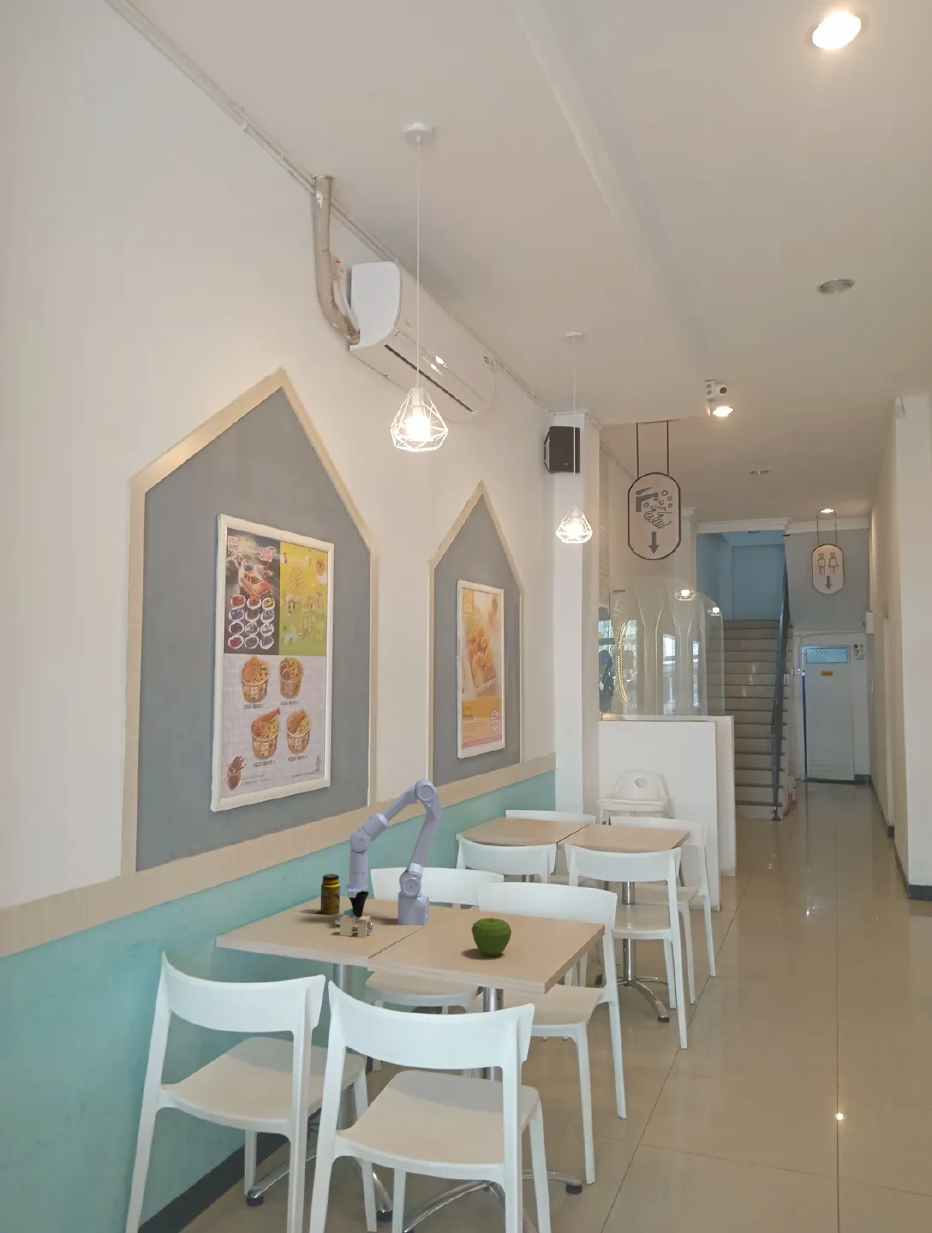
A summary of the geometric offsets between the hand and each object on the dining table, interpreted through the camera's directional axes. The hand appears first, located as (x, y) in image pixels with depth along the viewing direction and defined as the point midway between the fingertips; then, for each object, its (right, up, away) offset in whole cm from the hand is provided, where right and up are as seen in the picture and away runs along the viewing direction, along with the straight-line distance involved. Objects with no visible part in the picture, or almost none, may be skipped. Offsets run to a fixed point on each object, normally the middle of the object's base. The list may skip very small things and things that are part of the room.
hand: (358, 916), depth 274 cm
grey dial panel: (-1, -2, -8) cm, 8 cm away
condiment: (-12, -4, +14) cm, 19 cm away
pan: (-3, -1, -1) cm, 4 cm away
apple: (+40, -1, -28) cm, 49 cm away
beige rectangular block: (+1, -1, -13) cm, 13 cm away
